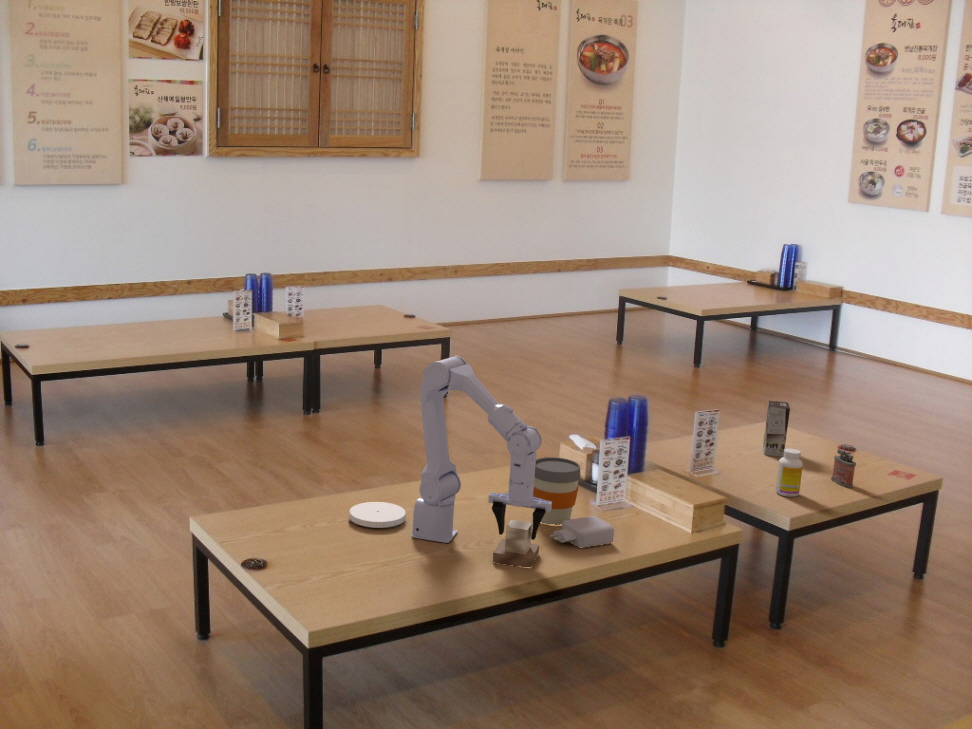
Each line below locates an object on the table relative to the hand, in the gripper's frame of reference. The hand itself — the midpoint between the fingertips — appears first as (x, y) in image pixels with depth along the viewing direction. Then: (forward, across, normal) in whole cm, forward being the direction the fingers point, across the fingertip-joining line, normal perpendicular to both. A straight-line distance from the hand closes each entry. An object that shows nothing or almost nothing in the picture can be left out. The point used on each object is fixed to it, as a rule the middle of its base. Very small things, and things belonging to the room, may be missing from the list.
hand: (517, 535), depth 252 cm
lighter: (+6, +78, +94) cm, 122 cm away
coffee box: (+6, +58, +118) cm, 132 cm away
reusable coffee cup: (+6, +3, +28) cm, 29 cm away
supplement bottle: (+6, +62, +77) cm, 99 cm away
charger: (+6, +12, +16) cm, 21 cm away
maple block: (+3, 0, 0) cm, 3 cm away
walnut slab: (+6, 0, 0) cm, 6 cm away
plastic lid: (+6, -38, +10) cm, 40 cm away
